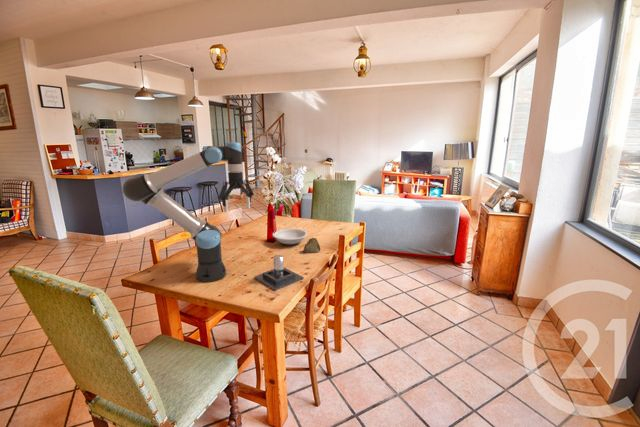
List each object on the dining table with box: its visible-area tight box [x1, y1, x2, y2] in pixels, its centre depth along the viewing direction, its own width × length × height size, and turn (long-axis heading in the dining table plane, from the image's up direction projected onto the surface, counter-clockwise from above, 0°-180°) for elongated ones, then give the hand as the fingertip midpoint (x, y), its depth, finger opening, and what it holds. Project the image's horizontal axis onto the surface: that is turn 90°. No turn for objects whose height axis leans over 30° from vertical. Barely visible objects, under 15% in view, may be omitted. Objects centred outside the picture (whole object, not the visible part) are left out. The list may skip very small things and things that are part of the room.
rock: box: [302, 237, 321, 253], centre depth 193 cm, size 11×9×10 cm
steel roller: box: [273, 254, 285, 279], centre depth 154 cm, size 5×5×11 cm
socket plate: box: [254, 267, 305, 292], centre depth 155 cm, size 18×18×3 cm
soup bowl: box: [272, 228, 308, 245], centre depth 208 cm, size 24×24×7 cm
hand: (237, 209), depth 168 cm, fingers open, 13 cm apart
